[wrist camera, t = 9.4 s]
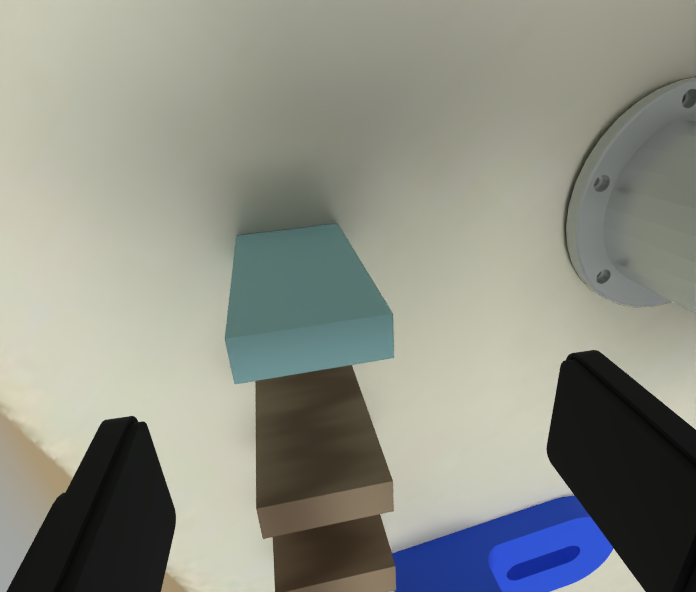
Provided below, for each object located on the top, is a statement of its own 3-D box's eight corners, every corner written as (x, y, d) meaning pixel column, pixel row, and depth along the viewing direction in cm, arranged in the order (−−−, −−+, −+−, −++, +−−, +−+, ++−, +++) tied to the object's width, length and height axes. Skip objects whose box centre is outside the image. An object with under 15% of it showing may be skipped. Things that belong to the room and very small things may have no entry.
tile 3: (349, 412, 28) (395, 566, 19) (351, 431, 28) (396, 589, 19) (268, 426, 27) (275, 593, 18) (271, 446, 28) (280, 617, 19)
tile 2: (344, 343, 25) (392, 481, 17) (345, 367, 26) (393, 511, 17) (255, 357, 25) (256, 508, 16) (259, 381, 25) (263, 538, 17)
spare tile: (337, 223, 22) (392, 313, 14) (340, 253, 23) (394, 357, 14) (236, 235, 22) (224, 339, 13) (242, 266, 22) (234, 384, 14)
